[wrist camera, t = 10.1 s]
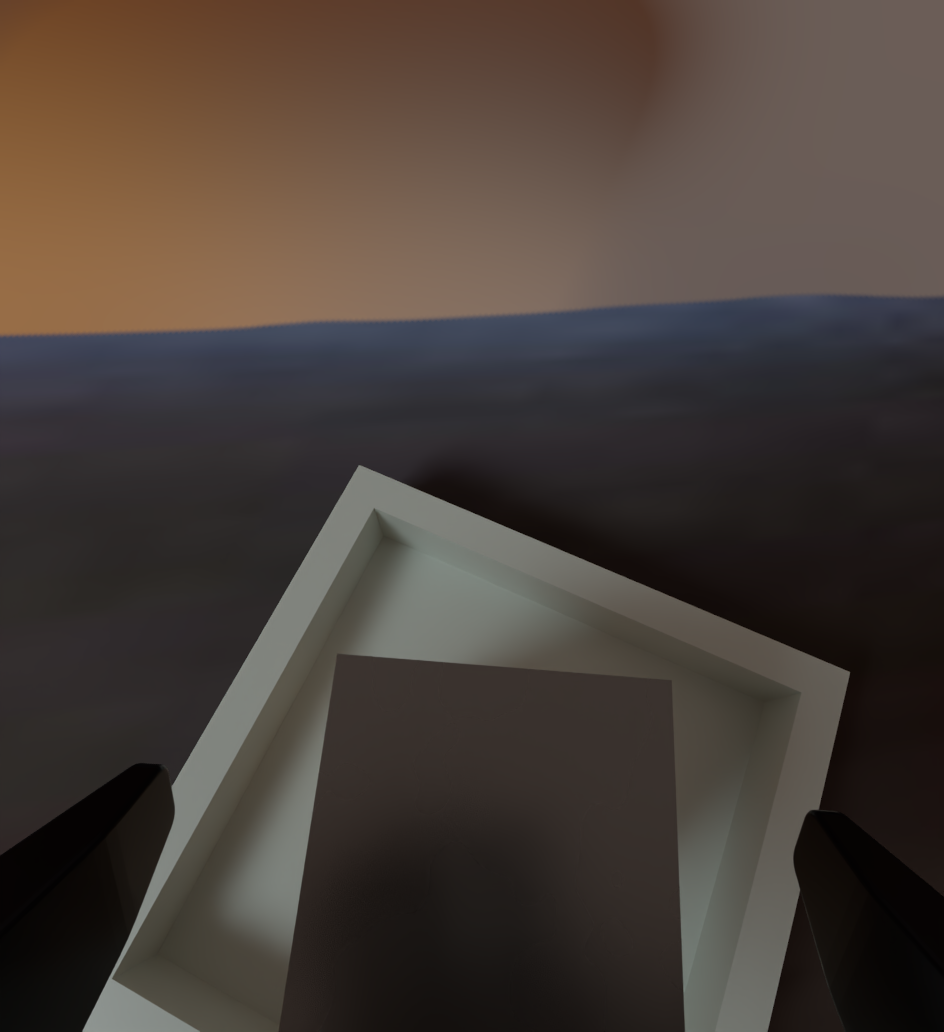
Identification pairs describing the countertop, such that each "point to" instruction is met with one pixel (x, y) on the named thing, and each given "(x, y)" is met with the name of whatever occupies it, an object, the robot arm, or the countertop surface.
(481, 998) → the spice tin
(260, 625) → the countertop surface
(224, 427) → the countertop surface
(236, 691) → the tray
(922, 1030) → the robot arm
